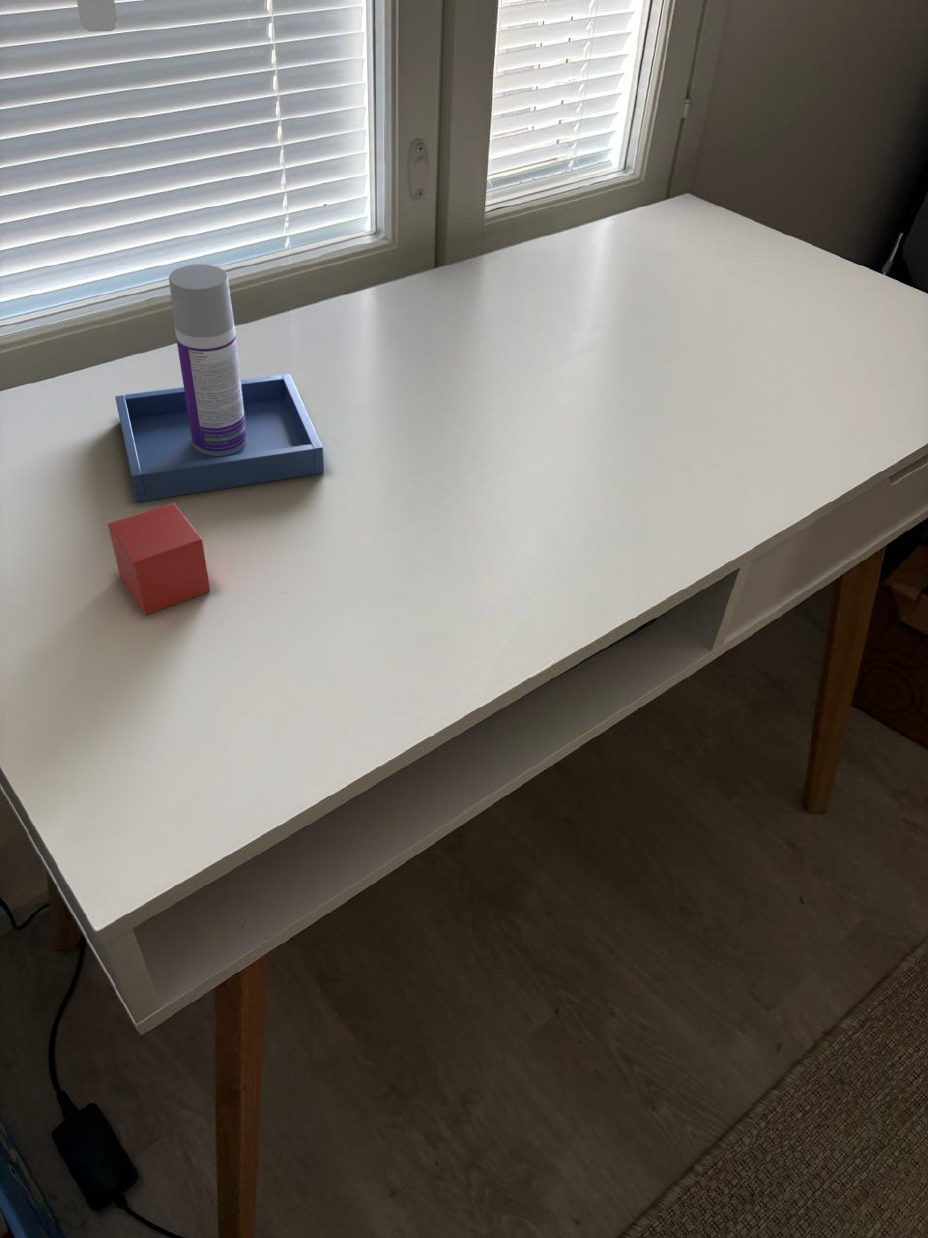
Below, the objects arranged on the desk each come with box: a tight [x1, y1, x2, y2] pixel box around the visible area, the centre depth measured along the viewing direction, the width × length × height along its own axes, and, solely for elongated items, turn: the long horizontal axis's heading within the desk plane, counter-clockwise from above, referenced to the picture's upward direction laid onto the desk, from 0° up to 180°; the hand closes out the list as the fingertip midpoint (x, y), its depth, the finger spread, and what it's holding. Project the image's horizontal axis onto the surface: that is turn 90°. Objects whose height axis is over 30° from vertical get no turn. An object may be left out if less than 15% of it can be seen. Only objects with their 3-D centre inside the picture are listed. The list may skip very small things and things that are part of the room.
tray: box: [114, 373, 325, 503], centre depth 88 cm, size 16×13×3 cm
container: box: [168, 264, 247, 456], centre depth 83 cm, size 5×5×15 cm
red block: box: [107, 502, 211, 616], centre depth 73 cm, size 5×5×5 cm
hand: (91, 5), depth 56 cm, fingers open, 8 cm apart
